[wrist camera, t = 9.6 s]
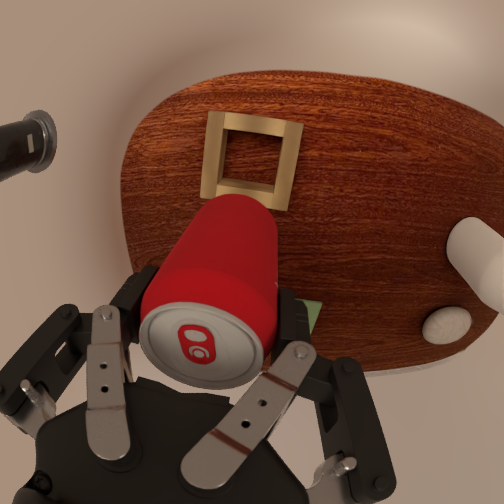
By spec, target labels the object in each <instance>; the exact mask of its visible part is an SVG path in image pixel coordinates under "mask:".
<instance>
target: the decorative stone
mask: <svg viewBox="0 0 504 504" xmlns="http://www.w3.org/2000/svg"><path fill="white" fill-rule="evenodd" d="M470 325H471V316H470V314H469V313H468V311H466V310H465V309H463V308H460V307H445V308H441V309H439V310H437V311H435V312H434V313H432V314H431V315H430V316H429V317H428V318H427V319H426V321H425V323H424V325H423V329H422V333H423V336H424V338H425V339H426V340H427V341H428V342H431V343H434V344H447V343H451V342H454V341H456V340H458V339H460V338H461V337H462V336H464V335H465V334H466V332H467V331H468V330H469V328H470Z"/></svg>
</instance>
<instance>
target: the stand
mask: <svg viewBox="0 0 504 504" xmlns="http://www.w3.org/2000/svg"><path fill="white" fill-rule="evenodd" d="M228 129H231V130H240V131H247V132H255V133H261V134H268V135H274V136H280V137H282V142H281V148H280V154H279V160H278V166H277V171H276V177H275V183H274V185H270V184H264V183H258V182H251V181H245V180H238V179H231V178H224V177H223V170H224V161H225V153H226V145H227V137H228ZM302 130H303V124H302V123H299V122H294V121H288V120H283V119H277V118H271V117H264V116H257V115H250V114H242V113H233V112H223V111H209V112H208V120H207V128H206V137H205V147H204V157H203V167H202V179H201V191H200V198H206V199H213V198H215V197H217V196H220V195H224V194H242V195H246V196H249V197H252V198H254V199H256V200H257V201H259V202H260V203H262V204H263V205H264V206H265V207H266V208H271V209H276V210H282V211H287V209H288V204H289V199H290V194H291V189H292V183H293V178H294V173H295V168H296V163H297V157H298V152H299V147H300V141H301V136H302Z"/></svg>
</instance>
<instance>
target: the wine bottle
mask: <svg viewBox="0 0 504 504" xmlns="http://www.w3.org/2000/svg"><path fill="white" fill-rule="evenodd" d="M446 248H447V250H446V251H447V256H448V259H449V261H450V262H451V264H452V265H453V266H454V267H455V268H456V270H457V271H458V272H459V273H460V274H461V276H462V277H463V278H464V279H465V280H466V282H467V283H468V284H469V285H470V287H471V288H472V289H473V290H474V292H475V293H476V294H477V296H478V297H479V298H480V300H481V301H482V302H483V303H485V304H486V305H488V306H489V307H491V308H492V309H494V310H496V311H498V312H500V313H502V314H503V315H504V238H503V237H501V236H500V235H499V234H498V233H496V232H495V231H494V230H493V229H491V228H490V227H489V226H488V225H486V224H485V223H484V222H482V221H481V220H480V219H478V218H475V217H468V218H465V219H463V220H461V221H460V222H458V223H457V224H456V225H455V227H454V228H453V229H452V231H451V233H450V235H449V237H448V241H447V247H446Z"/></svg>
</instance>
